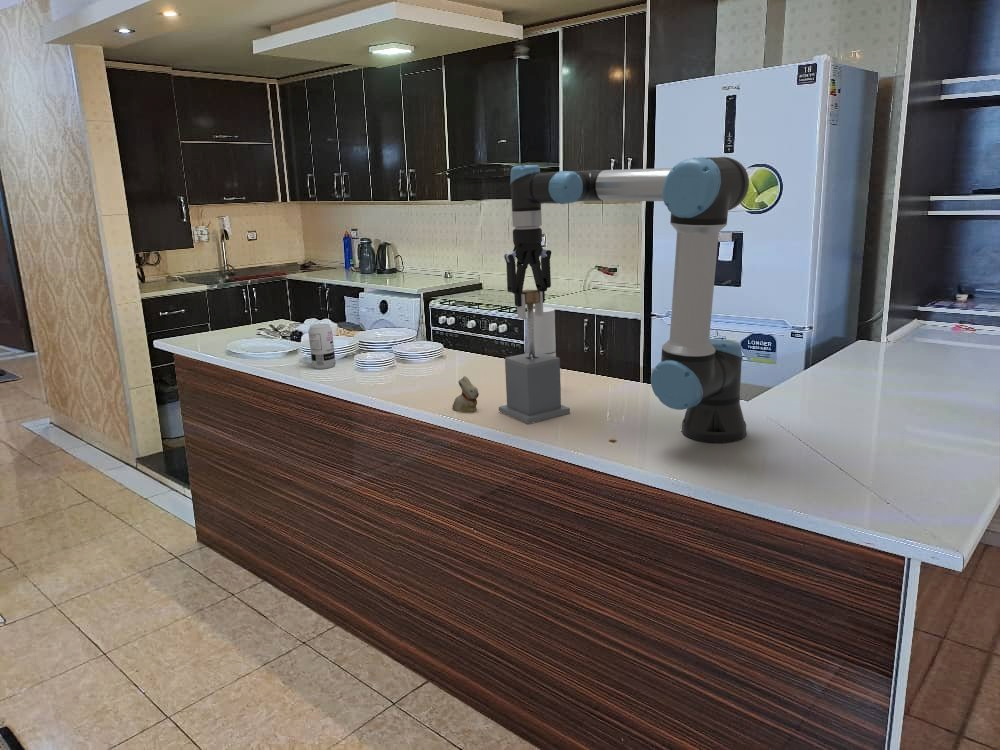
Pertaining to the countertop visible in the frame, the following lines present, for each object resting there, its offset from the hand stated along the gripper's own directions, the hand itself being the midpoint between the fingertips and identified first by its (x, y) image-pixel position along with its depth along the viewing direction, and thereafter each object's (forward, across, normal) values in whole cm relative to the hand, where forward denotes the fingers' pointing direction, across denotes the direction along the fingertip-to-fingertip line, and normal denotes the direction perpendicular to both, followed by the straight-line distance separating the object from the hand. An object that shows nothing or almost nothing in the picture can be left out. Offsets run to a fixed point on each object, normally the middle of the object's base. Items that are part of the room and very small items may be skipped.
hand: (530, 316), depth 195 cm
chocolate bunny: (+27, +13, -15) cm, 33 cm away
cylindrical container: (+27, -14, -14) cm, 33 cm away
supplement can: (+27, +26, -94) cm, 101 cm away
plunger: (+13, 0, 0) cm, 13 cm away
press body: (+27, 0, 0) cm, 27 cm away
